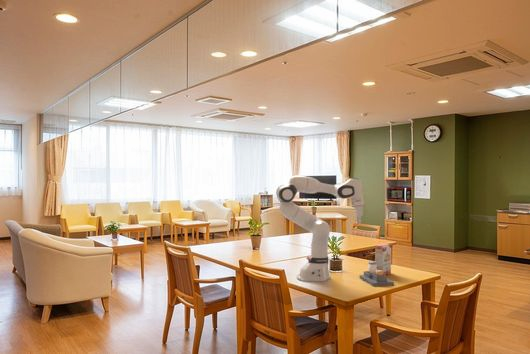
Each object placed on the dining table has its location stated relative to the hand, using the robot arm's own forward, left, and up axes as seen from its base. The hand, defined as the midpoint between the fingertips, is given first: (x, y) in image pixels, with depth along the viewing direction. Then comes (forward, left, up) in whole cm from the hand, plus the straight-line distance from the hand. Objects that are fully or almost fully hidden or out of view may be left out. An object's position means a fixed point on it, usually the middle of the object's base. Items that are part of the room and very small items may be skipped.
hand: (359, 221), depth 264 cm
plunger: (+6, -18, -33) cm, 38 cm away
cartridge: (+6, -8, -35) cm, 36 cm away
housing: (+6, -13, -37) cm, 40 cm away
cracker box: (+19, +3, -37) cm, 42 cm away
